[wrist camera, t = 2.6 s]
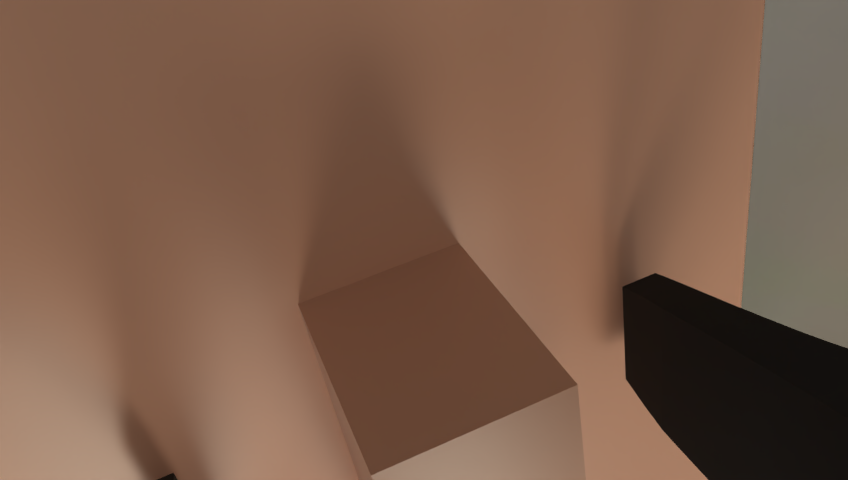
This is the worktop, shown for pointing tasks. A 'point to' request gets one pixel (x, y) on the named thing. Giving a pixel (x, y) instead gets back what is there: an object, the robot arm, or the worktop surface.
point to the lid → (357, 231)
